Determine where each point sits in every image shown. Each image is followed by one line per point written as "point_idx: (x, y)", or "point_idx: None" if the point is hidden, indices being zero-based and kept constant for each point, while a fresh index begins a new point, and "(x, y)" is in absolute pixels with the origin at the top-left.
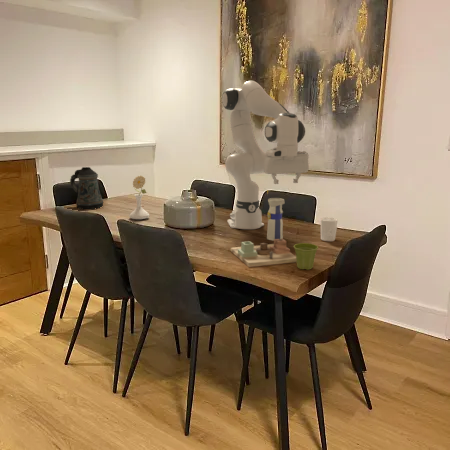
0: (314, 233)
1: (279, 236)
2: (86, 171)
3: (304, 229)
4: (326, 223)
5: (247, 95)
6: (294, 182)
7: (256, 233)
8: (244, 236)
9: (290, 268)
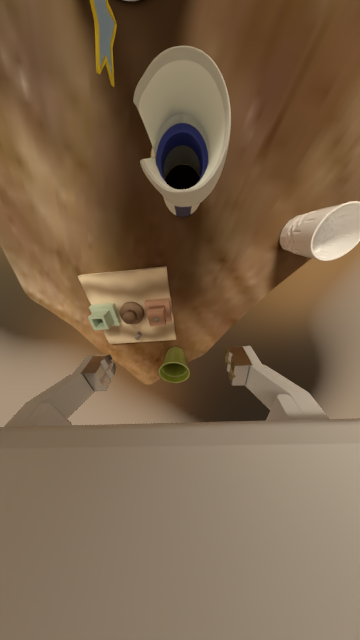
0: (314, 154)
1: (188, 214)
2: None
3: (331, 66)
4: (307, 253)
5: None
6: (225, 361)
7: None
8: (105, 143)
9: (158, 352)
